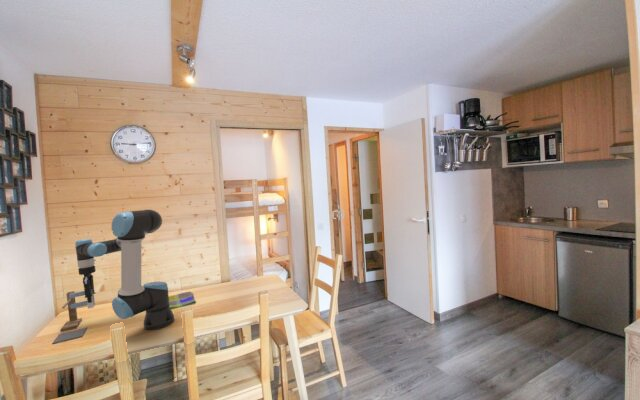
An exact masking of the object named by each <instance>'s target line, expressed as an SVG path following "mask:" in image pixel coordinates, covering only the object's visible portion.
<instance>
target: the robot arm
mask: <svg viewBox="0 0 640 400" xmlns="http://www.w3.org/2000/svg"><path fill="white" fill-rule="evenodd" d="M162 224H163V219H162V216H161V214H160V213H159V212H157V210H153V209H141V210H129V211H122V212H118V213H117V214H115V216H114V217H113V219H112V221H111V231H112V235H114V237H116V238H114V239H109V240H103V241H98V242H93V240H92V239H91V238H84V239H78V240H76V241H75V247H74V248H75V253H76V259H77V262H76V263H77V267H78V269H77V270H78V275H81V276H83V277H82V283H83V291H85V295H84V298H85V299H86V301H87V305H86V306H87V310H88V309H93V308H94V307H95V306H96V300H95V294H96V292H95V285H94V275H92V274H94V273H95V272H96V266H95V264H96V263H95V261H96V259H95V258H98V257H102V256H104V255H109V254H113V253H119V252H120V263H121V267H120V270H121V271H120V274H121V275H120V279H121V288H119V289H118V290H117V297H114V298H113V299H112V302H111V306H112V311H114V314H115V315H116V317H118V318H119V319H121V320H126V319H129V318H132V317H134V316H137V315H139V314H141V313H143V312H145V316H144V320H143V322H142V323H143V325H142V326H143V329H144V330H147V331H151V330H152V331H153V330H154V331H155V330H158V329H162V328H165V327H168V326H169V325H171V324H173V323H174V322H175V315H174V313H173V311H172V310H171V309H170V305H169V296H170V295H169V288H168V283H167V282H166V281H152V282H146V283H144V284H143V285H142V241H143V240H144V239H146V236H147V235H148V234H152V233H154V232H156V231H157V230H159V229H160V227H161V226H162ZM91 289H92V290H91ZM92 292H93V296H92ZM93 299H94V302H93Z"/></svg>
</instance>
